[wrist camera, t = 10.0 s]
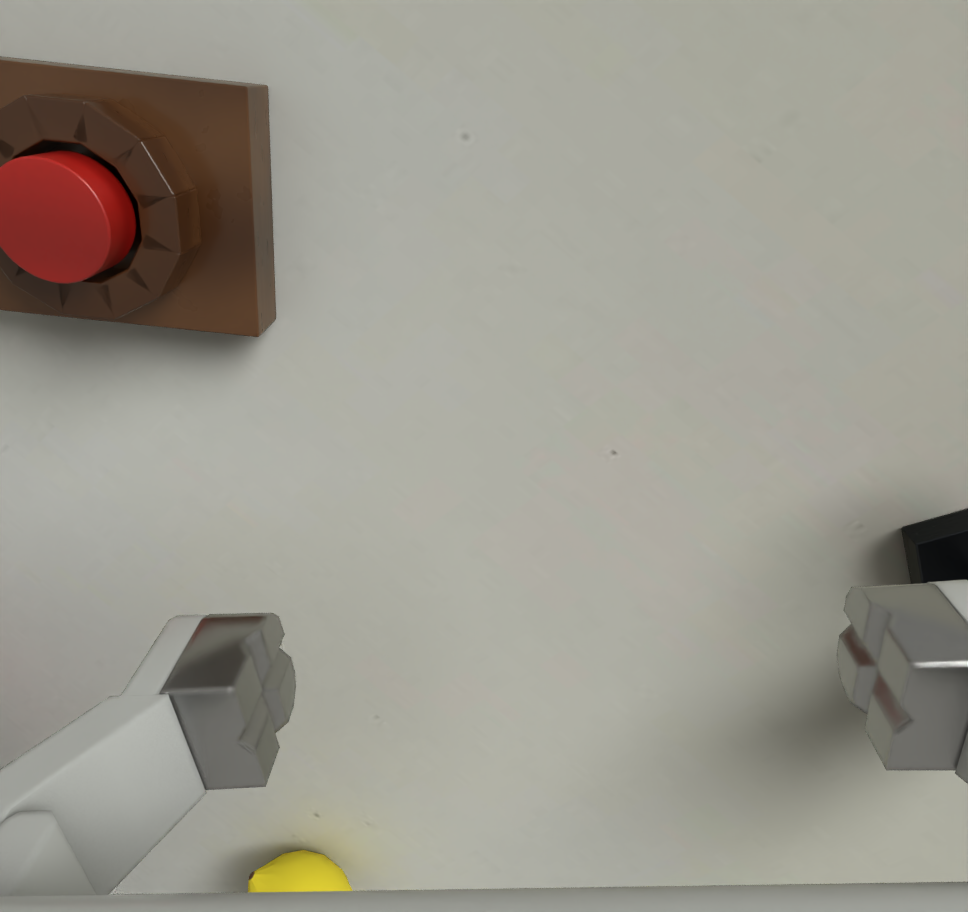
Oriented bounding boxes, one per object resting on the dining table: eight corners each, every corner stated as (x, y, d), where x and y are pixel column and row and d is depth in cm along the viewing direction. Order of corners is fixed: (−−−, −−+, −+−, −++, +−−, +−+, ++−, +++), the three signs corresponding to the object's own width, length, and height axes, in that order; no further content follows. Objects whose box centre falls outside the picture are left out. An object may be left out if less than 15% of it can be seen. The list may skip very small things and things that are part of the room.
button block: (-35, 52, 24) (-129, 49, 21) (268, 85, 24) (226, 87, 21) (13, 291, 28) (-60, 323, 24) (276, 319, 28) (241, 354, 25)
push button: (9, 144, 22) (-29, 149, 21) (129, 156, 22) (100, 163, 21) (31, 264, 24) (-3, 277, 22) (143, 276, 24) (117, 290, 22)
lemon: (387, 873, 43) (370, 972, 39) (323, 906, 45) (300, 1005, 40) (300, 809, 41) (271, 907, 36) (236, 847, 43) (201, 945, 38)
